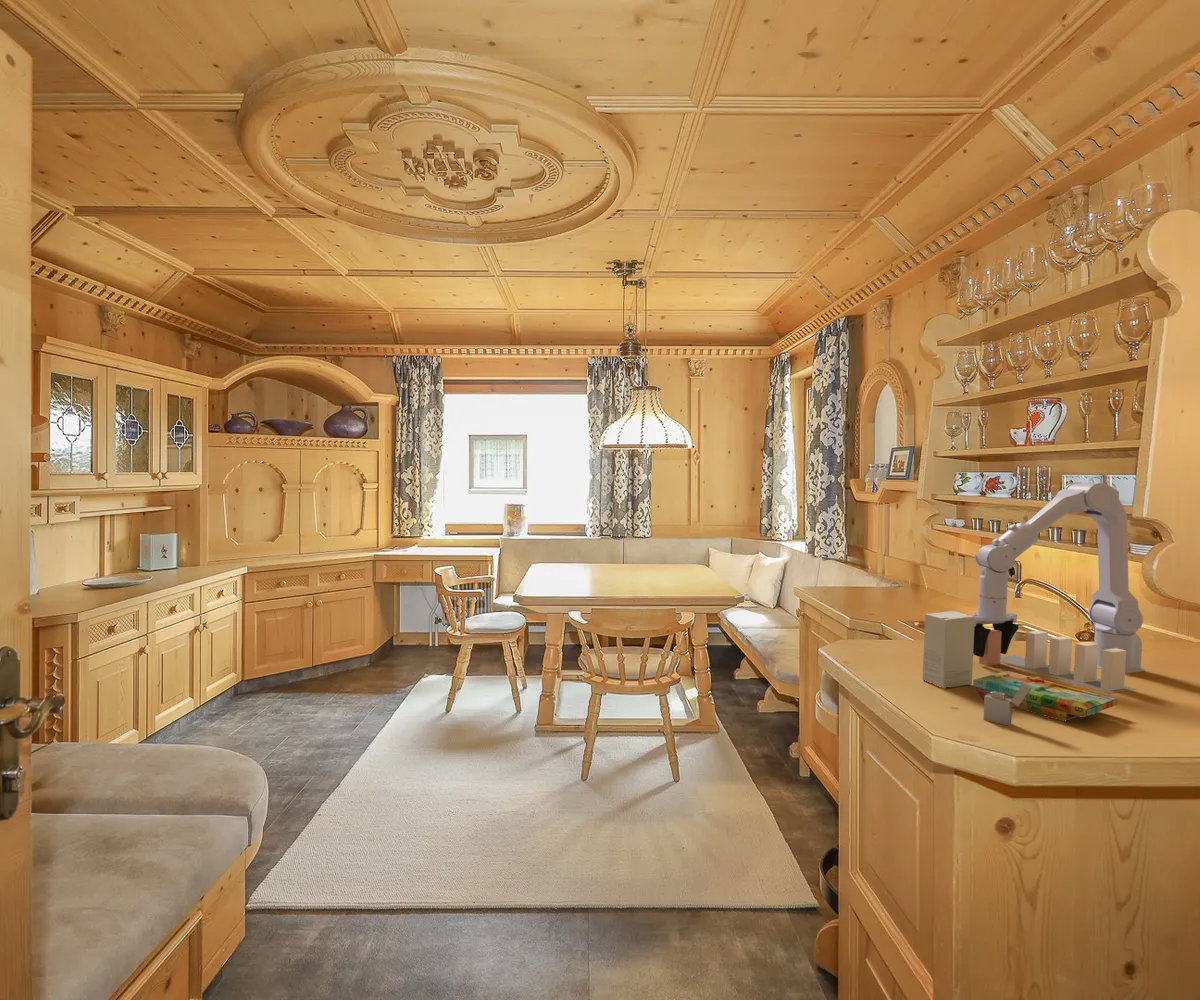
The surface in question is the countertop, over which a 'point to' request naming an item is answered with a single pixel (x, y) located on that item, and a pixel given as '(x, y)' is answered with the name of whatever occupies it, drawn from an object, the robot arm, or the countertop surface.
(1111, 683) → the domino
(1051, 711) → the puzzle game
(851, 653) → the countertop surface
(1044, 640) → the domino
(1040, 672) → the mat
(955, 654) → the skincare box
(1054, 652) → the domino
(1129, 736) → the countertop surface
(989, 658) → the domino
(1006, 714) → the lighter
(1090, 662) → the domino
